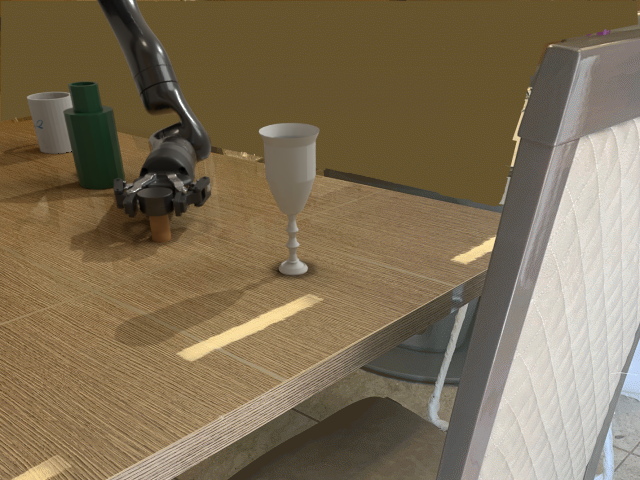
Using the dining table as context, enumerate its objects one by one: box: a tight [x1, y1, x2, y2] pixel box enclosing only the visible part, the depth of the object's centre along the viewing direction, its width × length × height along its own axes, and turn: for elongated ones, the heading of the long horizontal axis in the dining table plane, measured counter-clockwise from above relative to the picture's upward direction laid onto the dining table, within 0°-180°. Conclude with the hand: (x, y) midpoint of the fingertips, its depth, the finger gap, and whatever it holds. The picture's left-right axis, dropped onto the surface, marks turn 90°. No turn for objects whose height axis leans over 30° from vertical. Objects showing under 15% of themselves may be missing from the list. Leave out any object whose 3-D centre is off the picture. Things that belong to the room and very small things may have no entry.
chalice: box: [258, 122, 321, 276], centre depth 77 cm, size 7×7×18 cm
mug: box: [26, 91, 73, 155], centre depth 134 cm, size 12×9×10 cm
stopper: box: [137, 187, 175, 243], centre depth 88 cm, size 5×5×8 cm
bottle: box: [63, 80, 126, 190], centre depth 111 cm, size 8×8×16 cm
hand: (154, 209), depth 85 cm, fingers open, 5 cm apart
